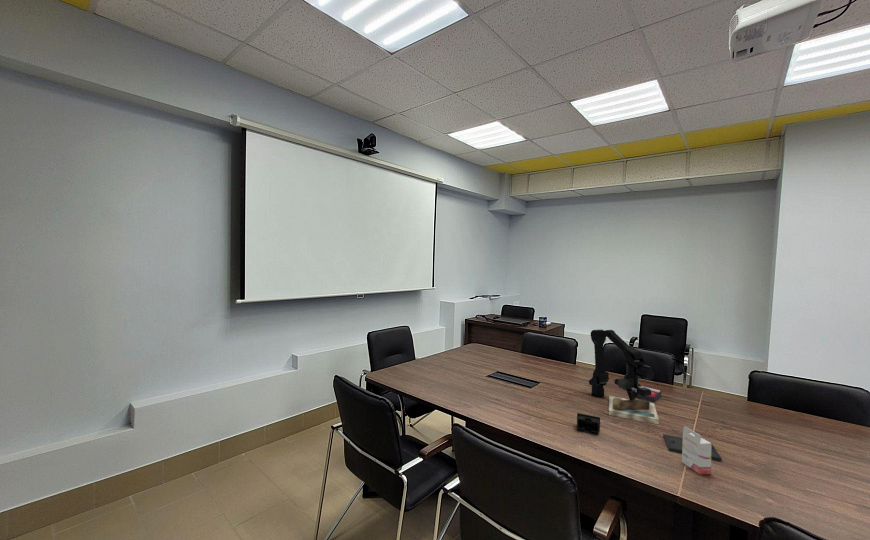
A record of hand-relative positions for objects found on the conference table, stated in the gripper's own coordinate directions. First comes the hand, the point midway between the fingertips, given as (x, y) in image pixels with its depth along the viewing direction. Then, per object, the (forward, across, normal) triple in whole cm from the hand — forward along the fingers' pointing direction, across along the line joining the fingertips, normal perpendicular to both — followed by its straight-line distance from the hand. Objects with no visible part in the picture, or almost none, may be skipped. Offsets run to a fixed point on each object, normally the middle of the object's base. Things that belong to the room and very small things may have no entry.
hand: (631, 402), depth 185 cm
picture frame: (+4, +38, -9) cm, 39 cm away
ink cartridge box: (+4, +49, -22) cm, 53 cm away
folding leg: (+2, +2, -4) cm, 5 cm away
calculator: (+6, -13, +27) cm, 31 cm away
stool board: (+4, +1, -1) cm, 5 cm away
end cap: (+4, +12, -40) cm, 42 cm away
